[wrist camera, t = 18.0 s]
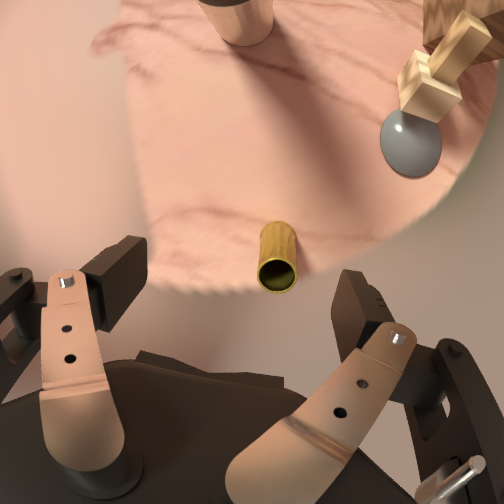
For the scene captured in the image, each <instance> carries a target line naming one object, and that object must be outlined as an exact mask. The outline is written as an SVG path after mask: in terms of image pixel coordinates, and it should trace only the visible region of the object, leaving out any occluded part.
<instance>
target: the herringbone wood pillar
mask: <svg viewBox="0 0 504 504" xmlns="http://www.w3.org/2000/svg"><path fill="white" fill-rule="evenodd" d="M462 10H464V11H466V12H467V13H469V14H471V15H473V16H474V17H476V18H478V19H480V20H481V21H483V22H484V24H485V26H486V27H487V29H488V31H489V33H490V35H491V37H492V39H491V40H490V41H489V42H488V44H487V45H486V46H485V47H484V48H483V50H482V51H481V52H480V53H479V54H478V55H477V56H476V58H475V59H474V60H473V61H472V62H471V63H470V65H473V64H478V63H482V62H487V61H492V60H497V59H502V58H504V0H424V26H423V45H424V46H426V47H428V48H431V49H433V50H435V49H436V48H437V46H438V45H439V43H440V42H441V40H442V39H443V37H444V36H445V35H446V33H447V32H448V30H449V29H450V27H451V26H452V24H453V23H454V21H455V20H456V18H457V17H458V15H459V14H460V12H461V11H462Z"/></svg>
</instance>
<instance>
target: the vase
mask: <svg viewBox="0 0 504 504" xmlns="http://www.w3.org/2000/svg"><path fill="white" fill-rule="evenodd" d="M295 241H296V235H295V232H294V230H293V229H292V227H291V226H290V225H288V224H287V223H285V222H281V221H275V222H271V223H269V224H267V225H266V226H265V227H264V228H263V229H262V231H261V234H260V256H259V264H258V271H257V279H258V282H259V284H260V285H261V286H262V287H263V288H264V289H265V290H266V291H269V292H271V293H285V292H287V291H289V290H290V289H291V288H292V287H293V286H294V284H295V283H296V281H297V265H296V246H295Z"/></svg>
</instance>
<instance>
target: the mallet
mask: <svg viewBox="0 0 504 504" xmlns="http://www.w3.org/2000/svg"><path fill="white" fill-rule="evenodd" d="M491 39H492V37H491V35H490V33H489V31H488V29H487V27H486V26H485V24H484V22H483V21H481V20H480V19H478V18H476V17H474V16H473V15H471V14H469V13H467V12H466V11H464V10H462V11H461V12H460V14H459V15H458V17H457V18H456V20H455V21H454V23H453V24H452V26H451V27H450V29H449V30H448V32H447V33H446V35H445V36H444V37H443V39H442V40H441V42H440V43H439V45H438V46H437V48H436V49H435V51H434V52H433V53H432V55H431V56H429V55H427V54H425V53H422V52H420V51H417V50H415V51H414V52H413V54H412V55H411V57H410V59H409V60H408V62H407V63H406V65H405V67H404V68H403V70H402V71H401V73H400V75H399V76H398V78H397V84H398V91H399V99H400V108H401V111H403V112H406V113H409V114H412V115H415V116H418V117H421V118H424V119H427V120H429V121H432V122H435V123H438V122H439V121H440V120H441V119H442V118H443V117H444V116H446V115H447V114H448V113H449V112H450V111H451V110H452V109H453V108H454V107H455V106H456V105H457V104H458V103H459V102H460V101H461V100H462V96H461V93H460V89H459V85H458V82H457V78H458V77H459V76H460V75H461V74H462V73H463V71H464V70H465V69H466V68H467V67H468V66H469V65H470V63H471V62H472V61H473V60H474V59H475V58H476V56H477V55H478V54H479V53H480V52H481V51H482V50H483V48H484V47H485V46H486V45H487V44H488V42H489V41H490V40H491Z"/></svg>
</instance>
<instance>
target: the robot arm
mask: <svg viewBox="0 0 504 504" xmlns="http://www.w3.org/2000/svg"><path fill="white" fill-rule="evenodd" d="M196 1H197V2H198V4H199V5H200V6H201V8H202V9H203V11H204V12H205V14H206V15H207V17H208V18H209V19H210V21H211V22H212V24H213V25H214V27H215V29H216V30H217V32H218V33H219V35H220V36H221V37H222V38H223V39H224V40H225V41H227V42H228V43H230V44H233V45H237V46H251V45H254V44H257V43H259V42H261V41H263V40H264V39H265V38H267V36H268V35H269V34H270V33H271V31H272V28H273V2H272V0H196ZM147 274H148V269H147V241H146V239H145V238H143V237H136V236H130V235H128V236H127V237H125V238H124V239H123V240H121V241H120V242H119V243H118V244H115V245H113V246H110V247H108V248H106V249H104V250H103V251H102V252H101V253H99V255H97V256H95V257H94V258H93V260H91V261H89V262H88V263H87V264H86V265H85V266H83V267H82V268H81V269H80V270H79V271H78V270H63V271H60V272H57V273H55V274H53V275H52V276H51V277H50V278H49V281H48V282H34V280H33V275H32V271H31V270H29V269H27V268H15V269H12V270H9V271H8V272H6V273H4V274H3V275H2V276H0V324H1V323H2V321H3V320H4V319H5V318H6V317H7V316H8V315H9V314H10V315H11V318H12V321H13V324H14V328H13V330H12V331H11V332H10V333H9V334H8V335H7V336H6V337H5V338H4V340H3V341H2V342H1V340H0V404H1V403H2V401H3V400H4V398H5V397H6V395H7V394H8V393H9V391H10V390H11V388H12V387H13V385H14V384H15V382H16V381H17V379H18V378H19V377H20V375H21V374H22V373H23V371H24V370H25V368H26V367H27V366H28V364H29V363H30V362H31V360H32V359H33V358H34V356H35V355H36V354H37V352H38V351H39V350H40V348H41V366H42V384H43V386H42V389H40V390H38V391H35V392H32V393H30V394H27V395H25V396H22V397H19V398H17V399H14V400H12V401H9V402H6V403H3V404H1V405H0V504H504V417H503V415H502V413H501V411H500V409H499V407H498V404H497V403H496V400H495V398H494V396H493V394H492V393H491V390H490V388H489V386H488V385H487V383H486V381H485V379H484V377H483V375H482V373H481V372H480V370H479V368H478V366H477V364H476V363H475V361H474V359H473V357H472V355H471V354H470V352H469V351H468V349H467V348H466V347H465V346H464V345H463V344H461V343H460V342H458V341H456V340H453V339H449V338H444V339H442V340H440V341H439V342H438V344H437V346H436V348H435V349H433V348H429V347H426V346H422V345H419V344H416V343H417V338H416V335H415V334H414V333H413V332H412V331H411V330H410V329H409V328H407V327H406V326H404V325H402V324H399V323H396V322H395V320H394V318H393V316H392V315H391V312H390V311H389V309H388V307H387V305H386V303H385V301H384V299H383V297H382V295H381V294H380V292H379V291H378V290H377V289H375V288H374V287H373V286H372V285H368V283H367V281H366V279H365V277H364V275H363V273H362V272H359V271H352V270H346V269H344V270H343V271H342V273H341V275H340V279H339V282H338V286H337V289H336V293H335V296H334V299H333V303H332V307H331V319H332V324H333V328H334V332H335V337H336V341H337V346H338V350H339V355H340V359H341V365H340V366H339V367H338V368H337V369H336V371H334V373H333V374H332V375H331V376H330V377H329V378H328V379H327V380H326V381H325V382H324V383H323V384H322V385H321V386H320V387H319V388H318V389H317V390H316V391H315V393H314V394H312V395H311V396H310V397H309V398H308V399H307V398H305V397H304V396H302V395H300V394H298V393H296V392H294V391H292V390H289V389H286V388H284V377H279V376H271V375H263V374H256V373H249V372H241V373H240V372H239V373H208V372H205V371H202V370H199V369H197V368H195V367H192V366H190V365H188V364H185V363H183V362H180V361H178V360H176V359H174V358H170V357H166V356H161V355H157V354H153V353H149V352H145V351H141V350H140V352H139V354H138V356H137V357H136V359H135V360H132V359H129V360H116V361H111V362H107V363H102V359H101V355H100V351H99V347H98V342H97V338H96V334H95V332H96V331H97V330H102V331H105V332H108V333H109V332H110V331H111V330H112V329H113V327H114V326H115V324H116V323H117V322H118V320H119V319H120V318H121V316H122V315H123V314H124V312H125V311H126V310H127V308H128V307H129V305H130V304H131V303H132V302H133V300H134V299H135V298H136V296H137V295H138V294H139V292H140V291H141V290H142V289H143V287H144V286H145V284H146V280H147ZM446 396H447V398H448V401H449V403H450V413H449V416H448V418H447V416H446V413H445V411H444V408H443V405H442V402H443V400H444V399H445V398H446ZM388 400H391V401H394V402H398V403H402V404H404V408H405V412H406V416H407V420H408V424H409V428H410V432H411V437H412V441H413V446H414V450H415V455H416V459H417V465H418V470H419V475H420V480H421V484H420V485H419V486H418V488H417V489H416V492H415V500H414V499H413V498H412V496H411V495H409V494H408V493H407V492H406V491H405V490H404V489H403V488H402V487H400V486H399V485H398V484H397V483H396V482H395V481H393V479H392V478H390V477H389V476H388V475H387V474H386V473H385V472H384V471H383V470H382V469H381V468H380V467H379V466H378V465H376V464H375V463H374V462H373V461H372V460H371V459H370V458H369V457H368V456H367V455H366V454H365V453H364V452H363V451H362V450H361V449H360V448H359V447H358V446H359V445H360V443H361V442H362V441H363V439H364V438H365V436H366V434H367V433H368V431H369V430H370V429H371V427H372V425H373V424H374V422H375V421H376V419H377V417H378V416H379V414H380V413H381V410H382V409H383V408H384V406H385V404H386V403H387V401H388Z"/></svg>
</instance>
